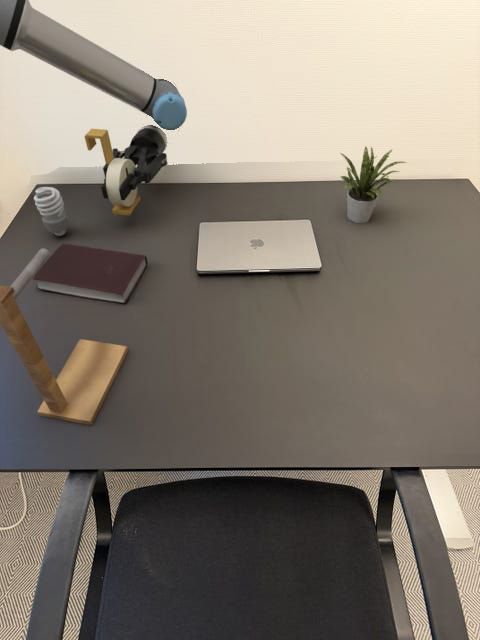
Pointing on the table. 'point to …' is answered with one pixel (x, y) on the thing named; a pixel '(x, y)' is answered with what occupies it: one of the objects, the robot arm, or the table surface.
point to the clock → (114, 173)
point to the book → (91, 273)
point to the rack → (80, 369)
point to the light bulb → (52, 210)
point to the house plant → (365, 186)
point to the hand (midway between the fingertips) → (112, 193)
